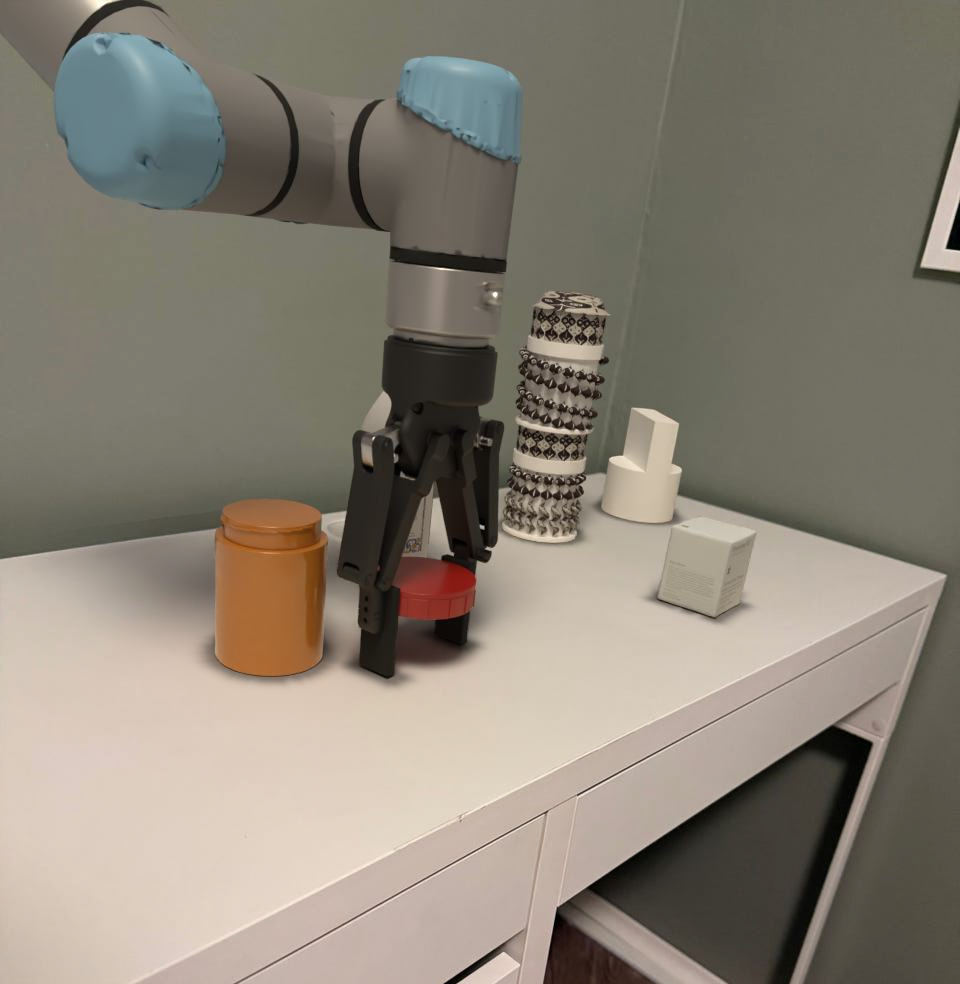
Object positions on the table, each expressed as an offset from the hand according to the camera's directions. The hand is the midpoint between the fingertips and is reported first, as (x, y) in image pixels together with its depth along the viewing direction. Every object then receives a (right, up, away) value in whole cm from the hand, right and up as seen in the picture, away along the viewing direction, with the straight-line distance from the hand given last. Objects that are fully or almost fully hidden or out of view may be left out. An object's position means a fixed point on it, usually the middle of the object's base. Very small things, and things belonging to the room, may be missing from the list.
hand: (415, 652), depth 69 cm
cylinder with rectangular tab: (+24, +17, +46) cm, 55 cm away
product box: (+25, +4, +18) cm, 32 cm away
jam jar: (-10, 0, -2) cm, 11 cm away
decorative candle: (+11, +13, +34) cm, 38 cm away
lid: (+1, +5, -2) cm, 6 cm away
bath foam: (-4, +8, +17) cm, 19 cm away
